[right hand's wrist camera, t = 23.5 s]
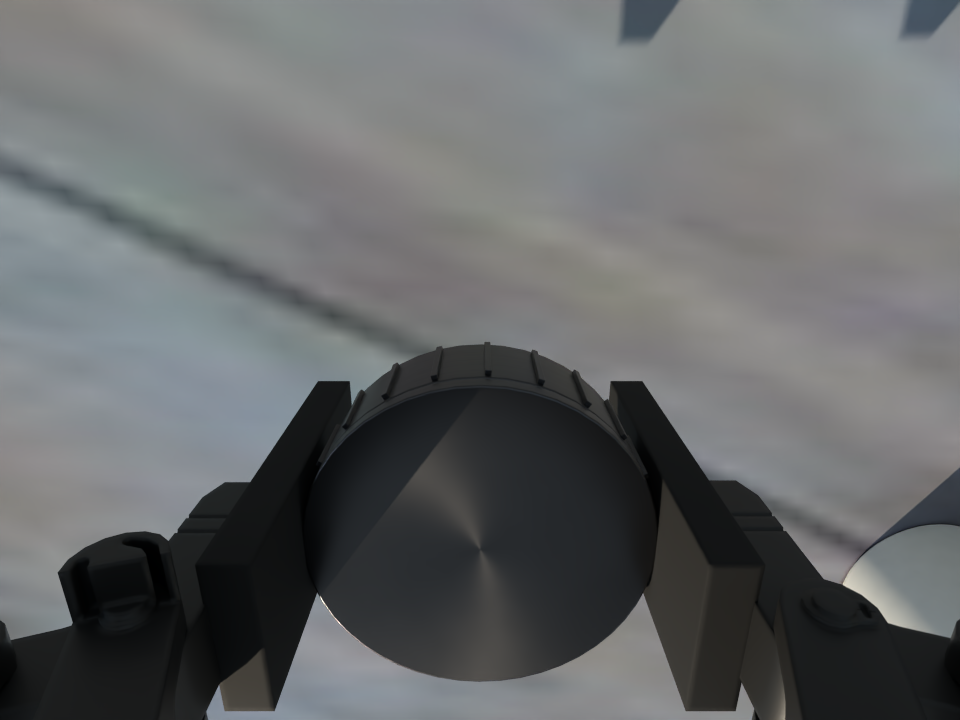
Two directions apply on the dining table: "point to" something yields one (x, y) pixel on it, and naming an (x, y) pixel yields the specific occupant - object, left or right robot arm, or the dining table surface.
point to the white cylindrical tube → (913, 578)
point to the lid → (480, 516)
